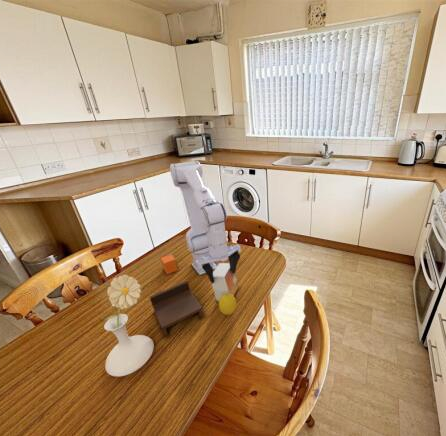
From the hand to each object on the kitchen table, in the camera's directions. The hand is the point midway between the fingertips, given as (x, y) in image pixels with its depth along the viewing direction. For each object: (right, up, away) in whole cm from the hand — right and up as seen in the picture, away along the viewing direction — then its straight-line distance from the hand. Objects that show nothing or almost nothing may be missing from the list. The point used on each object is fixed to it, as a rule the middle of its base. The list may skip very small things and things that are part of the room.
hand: (222, 276), depth 79 cm
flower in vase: (-21, -18, -14) cm, 31 cm away
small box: (+1, -8, +6) cm, 10 cm away
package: (-27, -2, +21) cm, 34 cm away
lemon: (+2, -12, -2) cm, 12 cm away
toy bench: (-14, -12, -1) cm, 19 cm away
